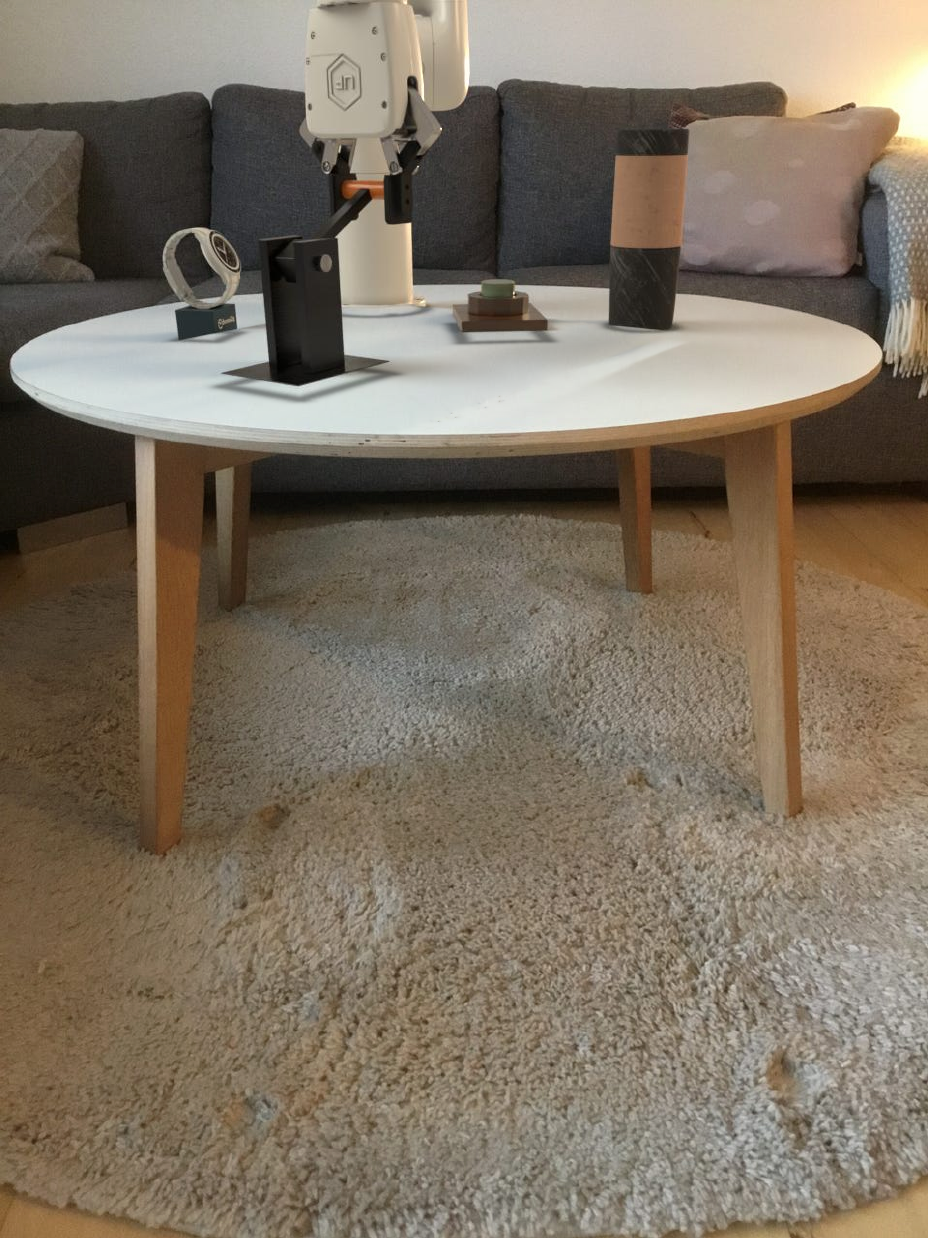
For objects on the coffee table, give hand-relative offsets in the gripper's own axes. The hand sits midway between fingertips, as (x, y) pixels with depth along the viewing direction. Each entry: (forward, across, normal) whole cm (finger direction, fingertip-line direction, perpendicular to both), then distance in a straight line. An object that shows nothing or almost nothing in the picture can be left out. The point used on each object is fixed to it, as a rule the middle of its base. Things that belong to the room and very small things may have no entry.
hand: (371, 219), depth 91 cm
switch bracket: (+13, 0, -10) cm, 16 cm away
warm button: (+9, +1, +20) cm, 22 cm away
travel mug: (+13, +12, +32) cm, 36 cm away
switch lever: (+1, 0, -5) cm, 5 cm away
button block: (+13, +1, +20) cm, 24 cm away
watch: (+13, -24, +1) cm, 27 cm away
